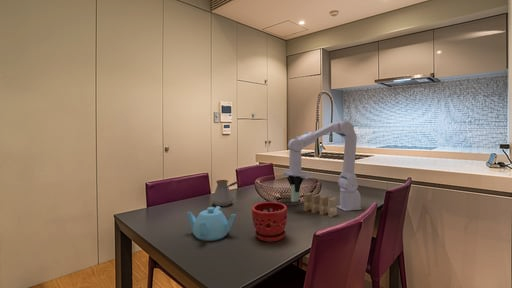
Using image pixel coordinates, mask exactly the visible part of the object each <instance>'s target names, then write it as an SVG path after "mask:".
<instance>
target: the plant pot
mask: <svg viewBox="0 0 512 288" xmlns="http://www.w3.org/2000/svg"><path fill="white" fill-rule="evenodd" d="M270 209H272V211H271V210H270ZM265 210H266V211H265ZM251 214H252V222H253V226H254V228H255V232H254V235H255V236H256V238H257V239H258V240H260V241H263V242H271V243H272V242H279V241H280V240H282V239H283V238H285V236H286V230H285V228H286V226H287V220H288V207H287V206H286V204H284V203H282V202H277V201H276V202H275V201H263V202H259V203H256V204H254V205H253V206H252V207H251Z"/></svg>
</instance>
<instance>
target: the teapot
mask: <svg viewBox="0 0 512 288" xmlns="http://www.w3.org/2000/svg"><path fill="white" fill-rule="evenodd" d="M186 215H187V219H188V221H189V225H190V228H191V230H192V233H193V236H195V238H197V239H198V240H200V241H206V242H209V241H210V242H211V241H212V242H213V241H218V240H221V239H223V238H224V237H226V236H227V235H228V233H229V232H230V230H231V229H232V226H233V223H234V220H235V219H236V215H237V214H236V213H235V214H234V213H233V214H232V213H231V216H229V219H228V218H227V217H226V216H225V214H224V213H223V211H222V207H220V206H216V205H215V207H212V206H210V207H209V206H208V207H207V208H206V209H205V210H202V211H201V212H199V214H198V215H197V217H196V216H195V214H193V213H192V211H188V212H186Z"/></svg>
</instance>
